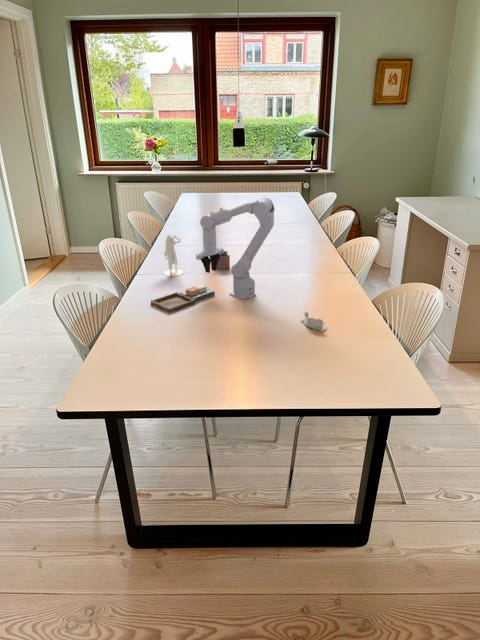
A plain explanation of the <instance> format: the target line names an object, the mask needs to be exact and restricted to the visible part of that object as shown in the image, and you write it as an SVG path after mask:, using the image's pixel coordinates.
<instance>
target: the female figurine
mask: <svg viewBox="0 0 480 640" xmlns="http://www.w3.org/2000/svg"><path fill="white" fill-rule="evenodd" d="M175 239H176V240H177V241H176V240H175ZM181 241H182V240H181V238H179V237H177V236H176V235H175V234H173V236H172V235H171V234H168V235H167V236H166V240H165V242H164V245H165V250H164V249H162V250H163V251H162V252H163V254H164V257H165V259H166V261H167V262H168V270H166V271H164V273H163V274H164V275H165V276H168V277H177V276H181V275H183V274H184V271H183V270H182V269H178V267H177V266H178V258H177V253H176V250H175V245H176V244H179V243H181ZM173 265H174V269H172V268H173Z"/></svg>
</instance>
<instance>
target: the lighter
mask: <svg viewBox="0 0 480 640" xmlns="http://www.w3.org/2000/svg"><path fill="white" fill-rule="evenodd" d="M218 255H220V259H219V261H218V264H217V267H216V271H231V267H230V266H231V265H230V263H231V262H230V259H231V258H230V257H231V255H230V254H228V251H227V250H224V253H219V254H218Z"/></svg>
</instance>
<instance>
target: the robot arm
mask: <svg viewBox="0 0 480 640" xmlns="http://www.w3.org/2000/svg"><path fill="white" fill-rule="evenodd" d="M246 213H248V214H250V215H253V214H254V216H255V218H256V220H258V221H259V225H260V226H259V227H258V229H257V231H256V232H255V234H254V236H253V237H252V239H251V240H250V242H249V244H248V246H247V247H246V249H245V250H244V252H243V254H242V255H241V256H240V258H239V259H238V261H237V262H236V263H235V264H233V265H232V266H231V267H230V271H231V272H230V273H231V275H232V278H233V279H232V280H233V281H232V283H233V285H232V286H233V291H232V292H229V293H228V294H229V295H230V296H233V297H235V298H238V299H241V300H246V299H249V298H252V297H254V296H256V295H257V293H255V292H256V291H255V289H256V288H255V287H256V281H255V280H254V279H253V278H252V277H251V275H250V274H251V273H250V270H251V268H252V262H253V261H254V259H255V256H256V255H257V253H258V251H259V250H260V248H261V247H262V245H263V244H264V243H265V241H266V238H267V237H268V236H269V234H270V232H271V231H272V229H273V227H274V226H275V206H274V202H273V201H272V200H271V198H268V197H264V198H261V199H255V200H251V201H248V202H246V203H243V204H240V205H239V206H236V207H233V208H231V209H229V208H227V207H220V208H219V210H216V211H210V212H209V213H207V214H206V215H204V216H202V217H201V218H200V220H199V221H200V226H201V227H202V246H203V249H202V251H201V252H199V253H198V254H195V257H196V258H195V260H198V261H201V263H202V264H203V268H204V270H205V273H207V274H210V272H211V271H213V272H216V271H217V270H216V267H217V264H218V261H219V259H220V255H218V254H219V253H220V254H221V253H224V251H225V250H224V248H222V247H219V248H217V231H216V230H217V226H219V225H222V224H223V225H224V224H226V223H229V222H230V221H231V220H232V218H233V217H236V216H239V215H243V214H246Z"/></svg>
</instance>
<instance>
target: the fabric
mask: <svg viewBox="0 0 480 640" xmlns="http://www.w3.org/2000/svg"><path fill="white" fill-rule="evenodd" d="M309 315H310V313H309V312H307V311H304V318H302V320H300V321H299V322H301V323H303V325H304V326H306V327H307V328H311V329H313V330H319V331H320V332H321V333H322V332H324V331H326V330H328V329H329V327H328V326H324V325H325V322H324V321H323V319H321V318H315V317H313V316H309Z"/></svg>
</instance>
